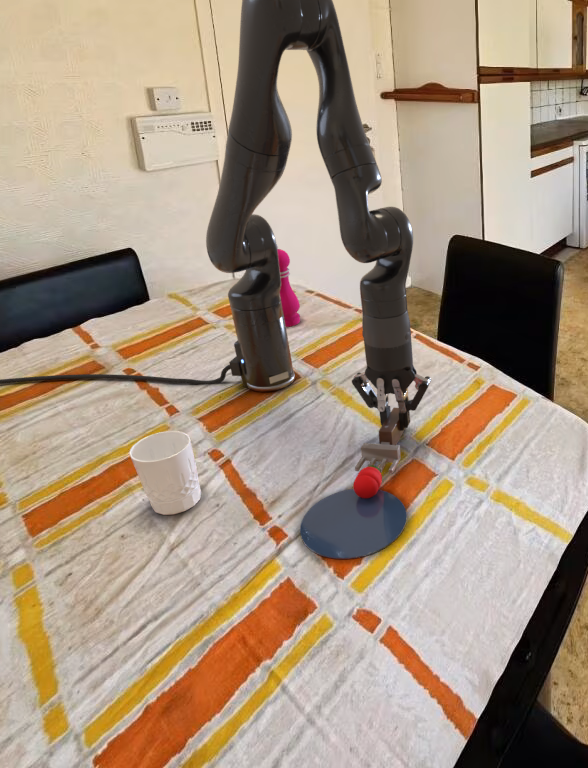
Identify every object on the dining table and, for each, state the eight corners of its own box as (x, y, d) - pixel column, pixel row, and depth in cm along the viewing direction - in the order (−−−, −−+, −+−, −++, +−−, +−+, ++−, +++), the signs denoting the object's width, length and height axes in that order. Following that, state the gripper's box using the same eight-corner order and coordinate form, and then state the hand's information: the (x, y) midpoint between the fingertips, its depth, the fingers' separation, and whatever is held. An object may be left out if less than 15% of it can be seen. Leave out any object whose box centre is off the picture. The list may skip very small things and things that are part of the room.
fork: (384, 424, 111) (383, 406, 110) (417, 427, 111) (416, 408, 109) (355, 471, 97) (353, 450, 96) (392, 473, 96) (391, 453, 95)
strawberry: (351, 502, 93) (348, 482, 91) (362, 480, 98) (360, 460, 96) (376, 504, 93) (373, 484, 91) (386, 482, 97) (384, 462, 95)
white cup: (186, 478, 99) (170, 425, 94) (216, 496, 95) (201, 441, 90) (137, 505, 93) (118, 449, 88) (167, 525, 89) (148, 468, 84)
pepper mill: (293, 329, 151) (280, 248, 141) (266, 327, 152) (251, 246, 143) (307, 318, 157) (295, 239, 148) (281, 316, 158) (267, 238, 149)
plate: (282, 553, 84) (282, 552, 84) (323, 485, 97) (323, 484, 97) (390, 564, 82) (390, 563, 82) (417, 493, 95) (417, 492, 95)
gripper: (434, 329, 102) (439, 419, 110) (353, 325, 104) (364, 414, 112) (424, 348, 96) (430, 442, 104) (337, 343, 97) (350, 436, 105)
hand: (395, 427), depth 108 cm, fingers closed on fork, 2 cm apart
